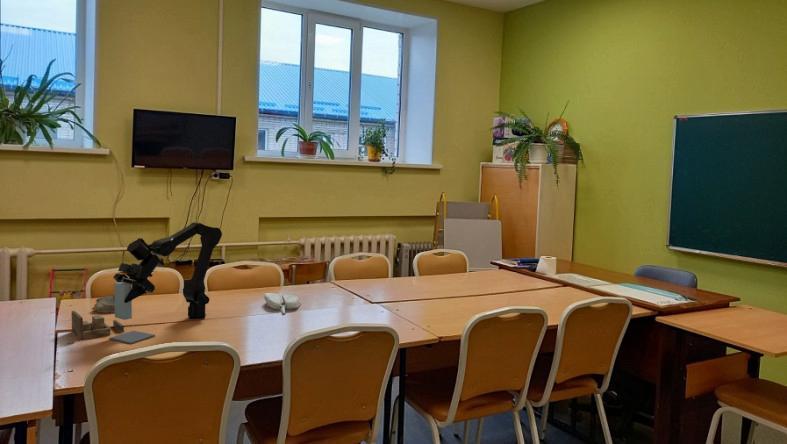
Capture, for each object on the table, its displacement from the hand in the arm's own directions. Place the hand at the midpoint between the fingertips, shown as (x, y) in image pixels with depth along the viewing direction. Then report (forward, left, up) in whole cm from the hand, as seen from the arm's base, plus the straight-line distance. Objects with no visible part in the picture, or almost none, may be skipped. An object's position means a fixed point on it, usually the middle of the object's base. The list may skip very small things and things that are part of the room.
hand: (119, 301), depth 215 cm
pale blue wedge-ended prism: (-1, -1, -7) cm, 7 cm away
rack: (+9, -7, -13) cm, 17 cm away
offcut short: (+13, -4, -14) cm, 19 cm away
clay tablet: (+13, -45, -14) cm, 49 cm away
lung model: (-62, -38, -14) cm, 74 cm away
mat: (-5, +2, -13) cm, 14 cm away
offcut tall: (+9, -7, -13) cm, 18 cm away
